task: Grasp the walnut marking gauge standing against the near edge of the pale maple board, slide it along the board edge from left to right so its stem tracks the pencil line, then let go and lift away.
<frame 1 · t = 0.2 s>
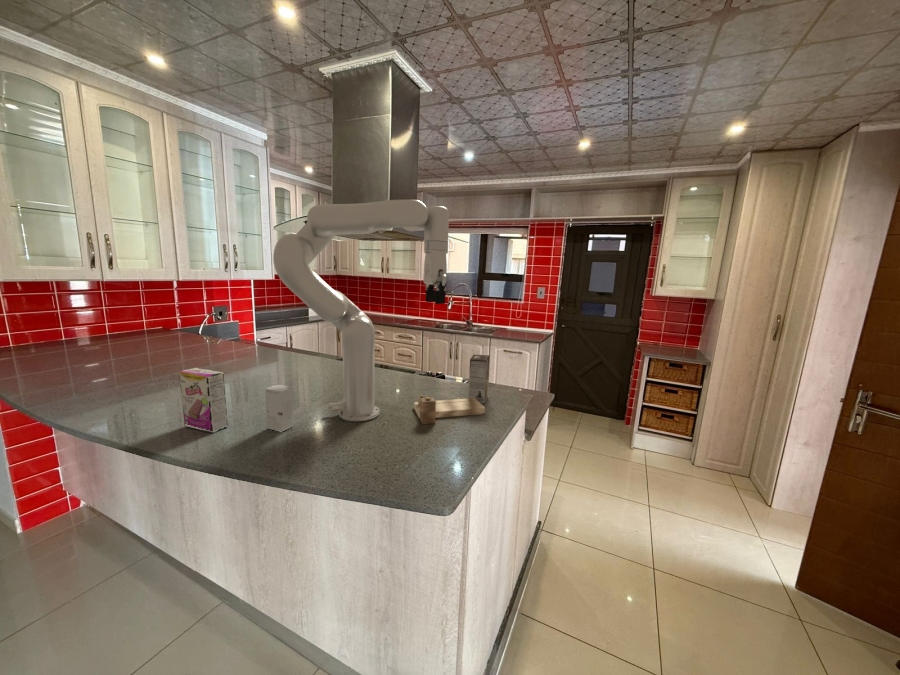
hand: (435, 302, 111), 36 cm above the countertop, tool pointing down, fingers open, 9 cm apart
board: (448, 410, 116), on the countertop
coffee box: (478, 399, 128), on the countertop
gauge: (427, 421, 106), on the countertop
skincare box: (280, 429, 98), on the countertop
candy bar box: (206, 428, 97), on the countertop
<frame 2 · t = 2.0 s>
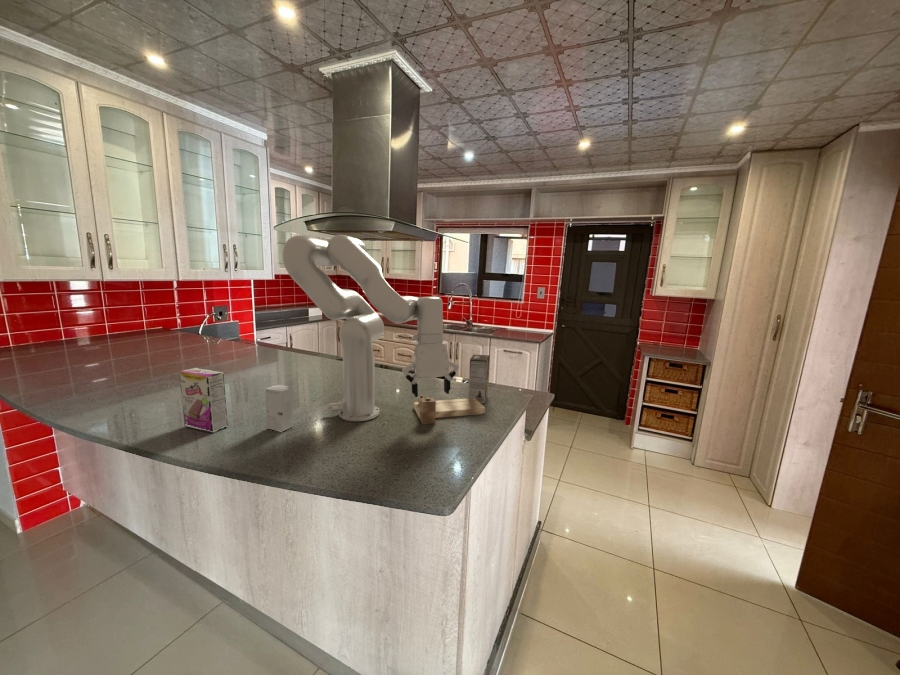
hand: (431, 394, 105), 9 cm above the countertop, tool pointing down, fingers open, 9 cm apart
nothing on the countertop moved.
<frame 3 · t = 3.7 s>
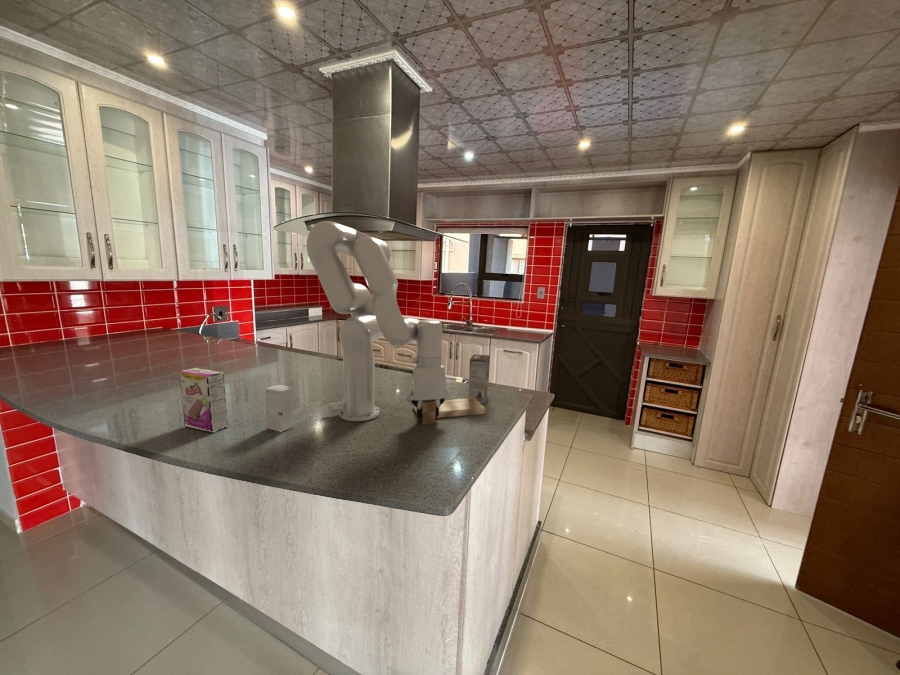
hand: (427, 418, 106), 1 cm above the countertop, tool pointing down, fingers closed on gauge, 4 cm apart
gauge: (427, 421, 106), on the countertop, touching gripper
everything else where it was.
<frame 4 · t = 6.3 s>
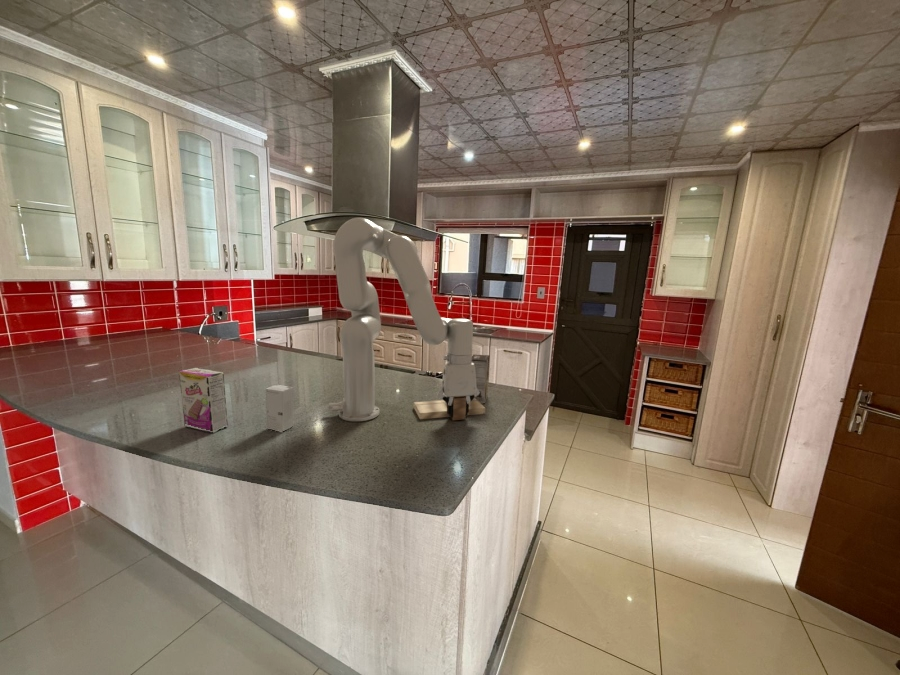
hand: (457, 414, 109), 1 cm above the countertop, tool pointing down, fingers closed on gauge, 4 cm apart
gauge: (457, 417, 109), on the countertop, touching gripper
everything else where it was.
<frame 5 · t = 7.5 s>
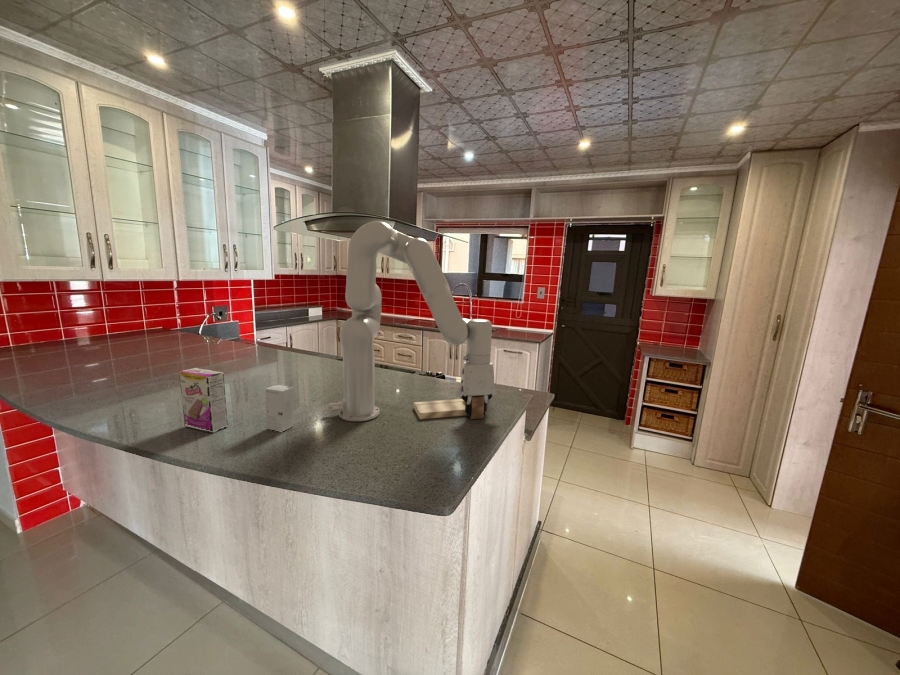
hand: (475, 413, 111), 1 cm above the countertop, tool pointing down, fingers closed on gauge, 4 cm apart
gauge: (475, 416, 111), on the countertop, touching gripper
everything else where it was.
when the fingers open (1 cm above the countertop, at t = 8.7 s): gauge stays where it is, on the countertop.
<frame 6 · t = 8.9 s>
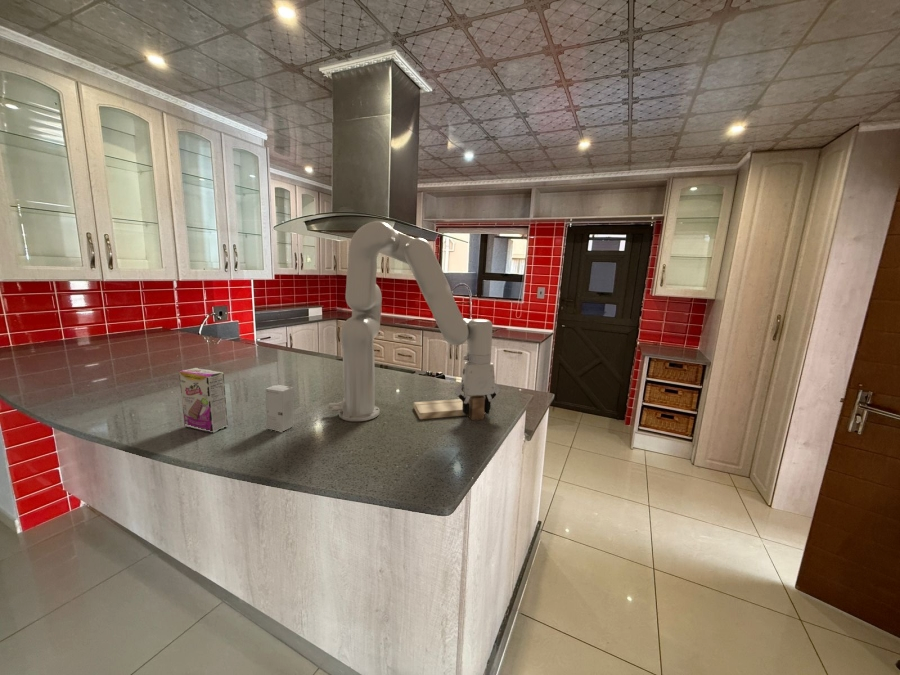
hand: (476, 412, 111), 1 cm above the countertop, tool pointing down, fingers open, 6 cm apart
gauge: (476, 417, 111), on the countertop
everything else where it was.
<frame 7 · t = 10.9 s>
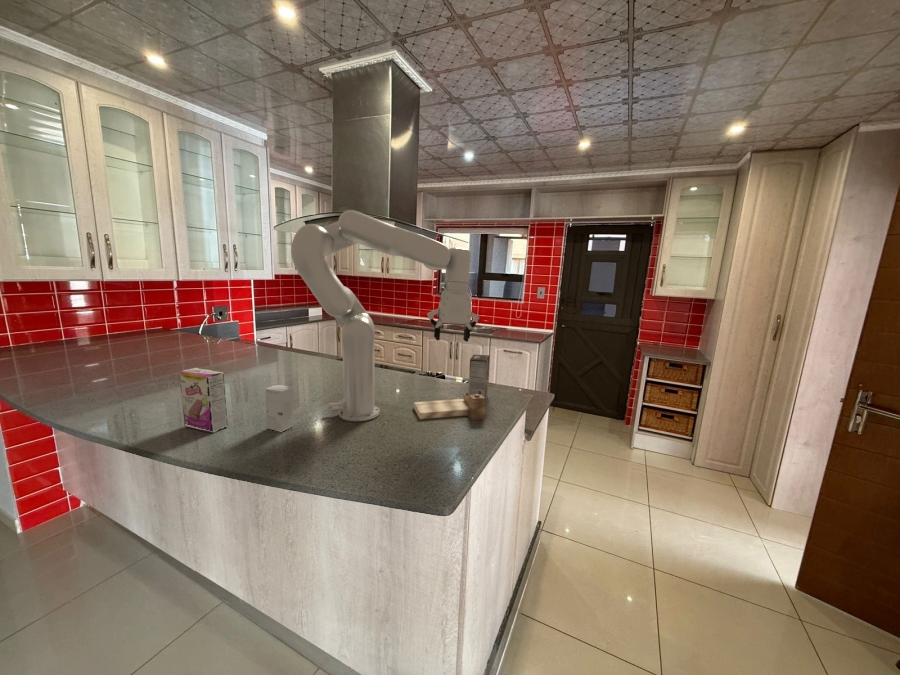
hand: (451, 340, 113), 24 cm above the countertop, tool pointing down, fingers open, 9 cm apart
nothing on the countertop moved.
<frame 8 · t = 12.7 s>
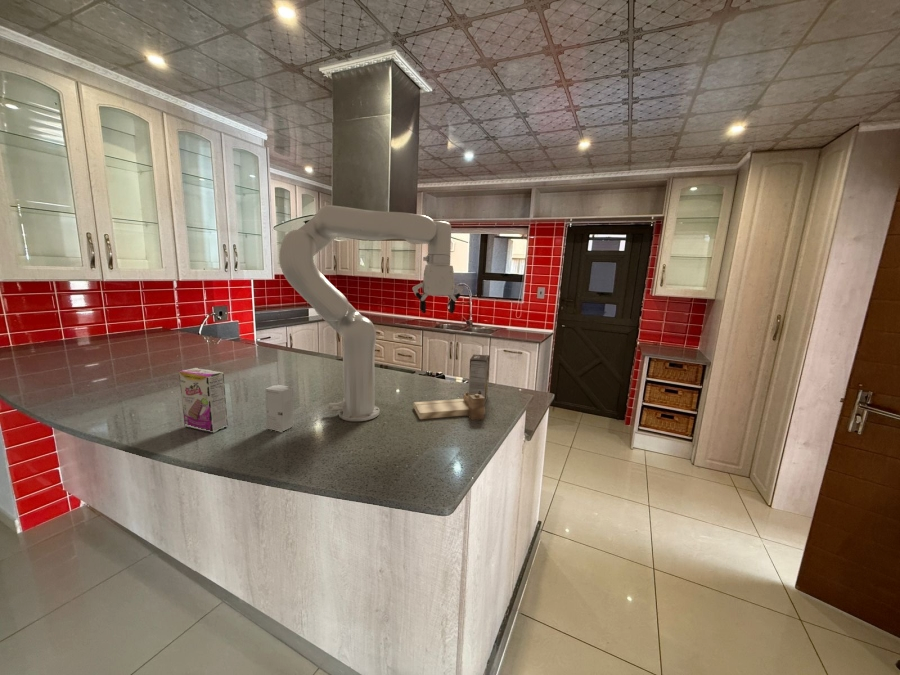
hand: (437, 312, 116), 32 cm above the countertop, tool pointing down, fingers open, 9 cm apart
nothing on the countertop moved.
at the end: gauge inside the target area (0.3 cm from its centre), on the countertop; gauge tilted 0°; the gripper is holding nothing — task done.
